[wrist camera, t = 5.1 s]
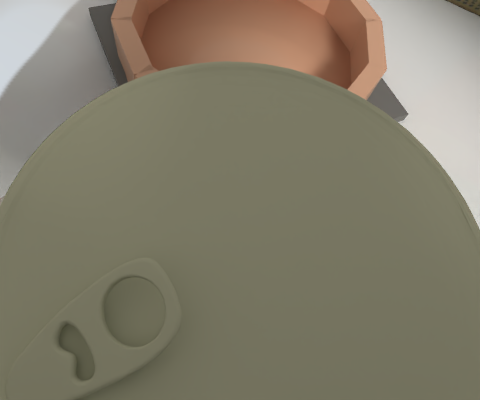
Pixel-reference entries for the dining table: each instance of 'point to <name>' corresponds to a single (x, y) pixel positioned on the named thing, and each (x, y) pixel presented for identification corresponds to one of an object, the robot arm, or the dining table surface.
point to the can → (236, 249)
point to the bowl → (254, 37)
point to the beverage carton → (468, 5)
